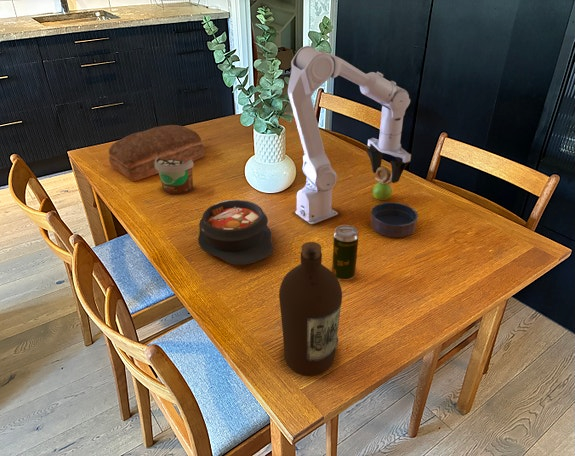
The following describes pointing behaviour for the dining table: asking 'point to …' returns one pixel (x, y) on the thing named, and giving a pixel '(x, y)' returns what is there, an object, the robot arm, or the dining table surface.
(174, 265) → the dining table surface
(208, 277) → the dining table surface
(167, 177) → the food container
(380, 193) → the snail figurine
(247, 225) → the casserole
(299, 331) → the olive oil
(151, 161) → the bread
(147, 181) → the dining table surface
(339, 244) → the beer can
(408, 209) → the bowl
